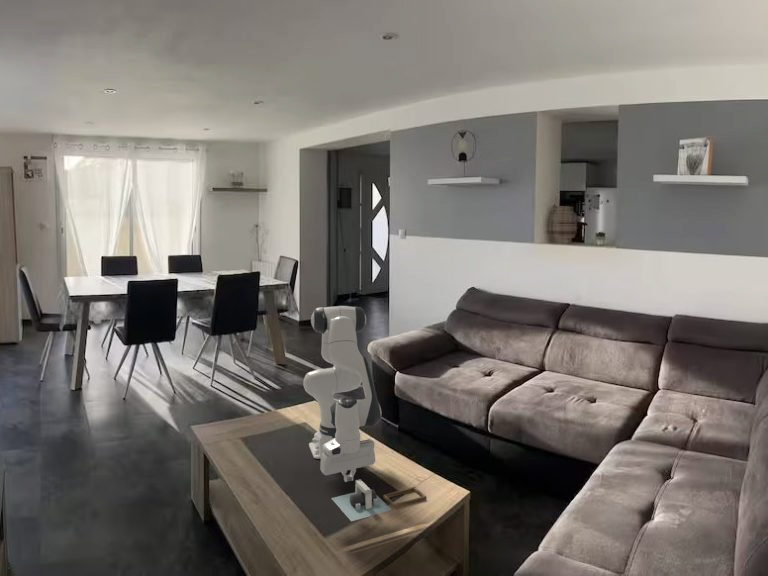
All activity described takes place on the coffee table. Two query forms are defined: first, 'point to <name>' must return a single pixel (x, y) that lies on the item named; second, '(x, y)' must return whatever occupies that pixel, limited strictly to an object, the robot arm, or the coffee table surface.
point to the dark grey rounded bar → (360, 498)
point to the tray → (421, 498)
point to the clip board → (359, 507)
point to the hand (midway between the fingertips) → (348, 480)
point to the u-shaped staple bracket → (368, 492)
